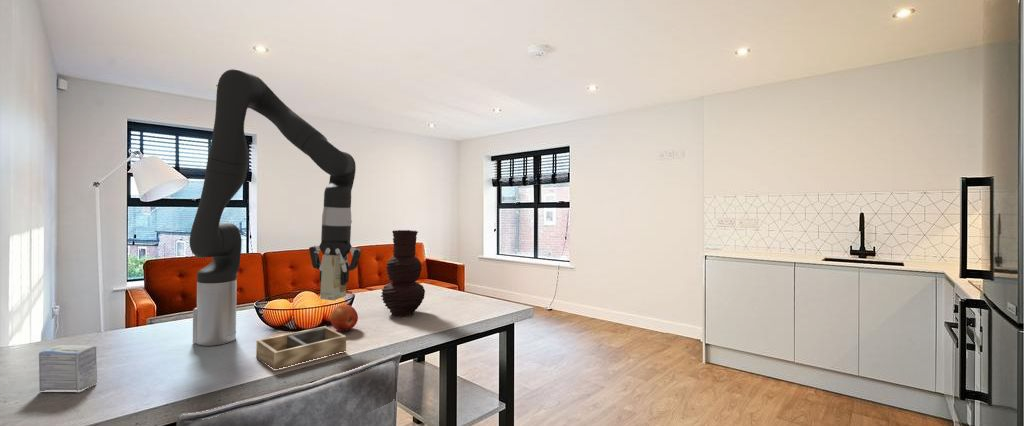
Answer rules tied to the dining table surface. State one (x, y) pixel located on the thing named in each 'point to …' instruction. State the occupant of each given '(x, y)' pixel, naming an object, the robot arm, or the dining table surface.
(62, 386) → the grey striped block
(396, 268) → the vase
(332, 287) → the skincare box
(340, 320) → the apple
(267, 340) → the walled box
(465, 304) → the dining table surface
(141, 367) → the dining table surface
